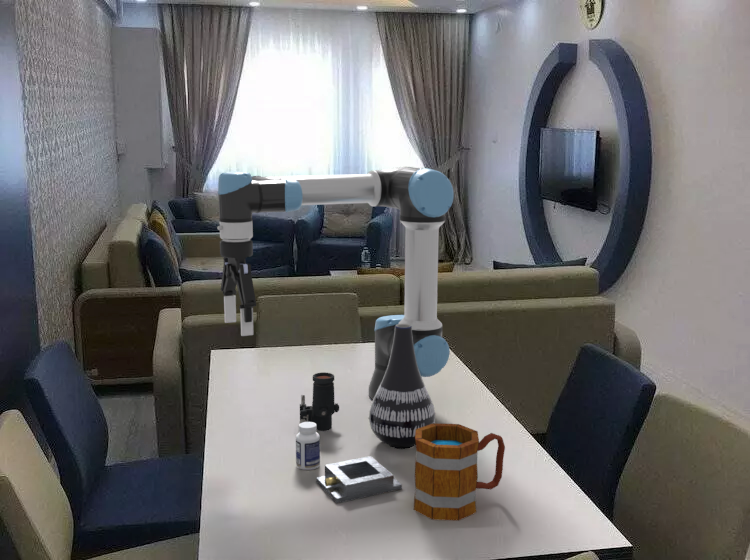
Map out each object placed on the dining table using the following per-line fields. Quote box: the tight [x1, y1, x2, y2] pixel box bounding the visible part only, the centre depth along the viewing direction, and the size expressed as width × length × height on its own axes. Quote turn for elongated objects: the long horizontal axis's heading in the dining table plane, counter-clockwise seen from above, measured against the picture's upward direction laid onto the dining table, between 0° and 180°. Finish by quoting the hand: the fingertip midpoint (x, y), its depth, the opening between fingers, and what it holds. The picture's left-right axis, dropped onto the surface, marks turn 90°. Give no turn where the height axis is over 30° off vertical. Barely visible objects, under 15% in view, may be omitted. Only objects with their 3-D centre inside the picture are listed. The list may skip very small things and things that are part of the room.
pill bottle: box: [295, 422, 321, 471], centre depth 178 cm, size 5×5×10 cm
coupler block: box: [315, 455, 403, 504], centre depth 169 cm, size 15×11×4 cm
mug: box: [413, 422, 506, 522], centre depth 161 cm, size 20×14×15 cm
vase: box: [368, 324, 436, 450], centre depth 189 cm, size 16×16×30 cm
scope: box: [299, 372, 340, 432], centre depth 200 cm, size 8×14×10 cm
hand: (238, 328), depth 188 cm, fingers open, 13 cm apart
